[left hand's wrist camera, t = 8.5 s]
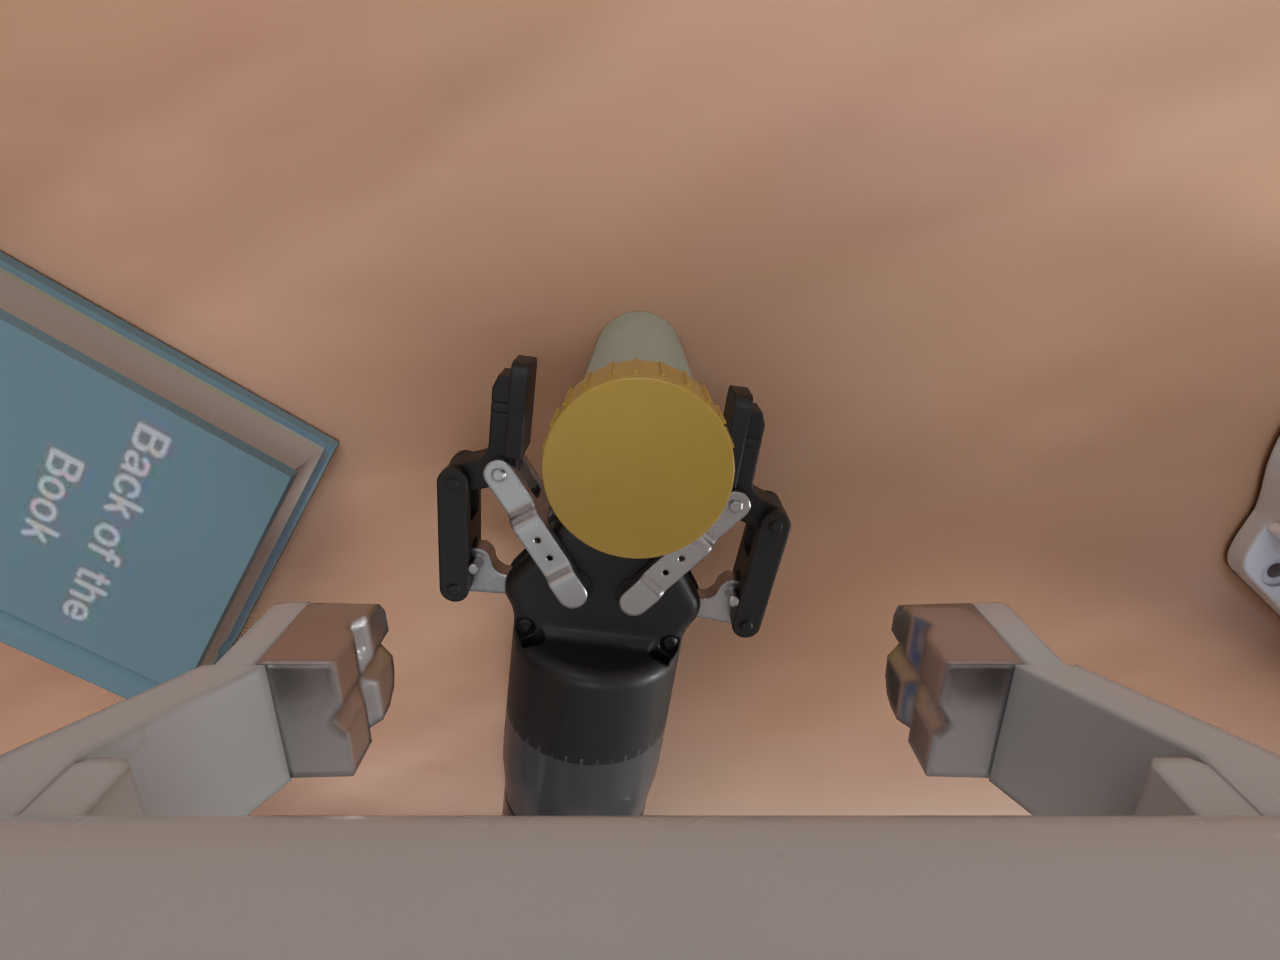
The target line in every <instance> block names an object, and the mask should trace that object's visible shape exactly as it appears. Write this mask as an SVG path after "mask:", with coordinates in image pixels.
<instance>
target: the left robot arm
mask: <svg viewBox="0 0 1280 960" xmlns="http://www.w3.org/2000/svg"><path fill="white" fill-rule="evenodd" d="M1227 561H1228V564H1229V566H1230V567H1231V568H1232V569H1233V570H1234V571H1235V572H1236V573H1237V574H1238V575H1239V576H1240V577H1241V578H1242V579H1243V580H1244V581H1245V582H1246V583H1247V584H1248V585H1249V586H1250V587H1251V588H1252V589H1253V590H1254V591H1255V592H1256V593H1257V594H1258V595H1259V596H1260V597H1261V598H1262V599H1263V600H1264V601H1265V602H1266V603H1267V604H1268V605H1269V606H1270V607H1271V608H1272V609H1273V610H1274V611H1275V612H1276V613H1277V614H1278V615H1279V616H1280V436H1279V438H1278V440H1277V442H1276V444H1275V446H1274V448H1273V450H1272V453H1271V455H1270V458H1269V461H1268V464H1267V467H1266V470H1265V474H1264V478H1263V482H1262V487H1261V491H1260V495H1259V498H1258V501H1257V503H1256V506H1255V508H1254V510H1253V511H1252V513H1251V514H1250V516H1249V517H1248V518H1247V520H1246V521H1245V523H1244V524H1243V526H1242V527H1241V529H1240V530H1239V532H1238V533H1237V535H1236V536H1235V538H1234V540H1233V541H1232V543H1231V545H1230V548H1229V550H1228V554H1227ZM387 632H388V625H387V619H386V614H385V610H384V609H383V608H382V607H381V606H380V604H342V603H313V604H312V603H310V602H304V603H279V604H273V605H272V606H271V607H270V608H269V609H268V610H267V611H266V612H265V613H264V614H263V615H262V616H261V617H260V618H259V620H258V621H257V622H256V623H255V624H254V625H253V626H252V627H251V628H250V629H249V630H248V631H247V632H246V633H245V634H244V635H243V636H242V637H241V638H240V639H239V640H238V641H237V642H236V643H235V644H234V645H233V646H232V647H231V648H230V649H229V650H228V651H227V652H226V653H225V655H224V656H223V657H222V658H221V659H220V660H219V661H218V662H217V663H216V664H215V665H202V666H200V667H197V668H195V669H193V670H191V671H188V672H186V673H184V674H182V675H179V676H177V677H175V678H173V679H170V680H168V681H166V682H164V683H161V684H159V685H157V686H155V687H152V688H150V689H148V690H146V691H143V692H141V693H139V694H137V695H134V696H132V697H130V698H128V699H125V700H123V701H121V702H119V703H117V704H114V705H112V706H110V707H108V708H105V709H103V710H101V711H99V712H96V713H94V714H92V715H90V716H87V717H85V718H83V719H81V720H78V721H76V722H74V723H72V724H69V725H67V726H65V727H63V728H60V729H58V730H56V731H54V732H51V733H49V734H47V735H45V736H43V737H40V738H38V739H36V740H34V741H31V742H29V743H27V744H25V745H22V746H20V747H18V748H16V749H13V750H11V751H9V752H7V753H4V754H2V755H1V756H0V960H1280V755H1277V754H1275V753H1273V752H1271V751H1268V750H1266V749H1264V748H1262V747H1259V746H1257V745H1255V744H1253V743H1250V742H1248V741H1246V740H1244V739H1241V738H1239V737H1237V736H1235V735H1233V734H1230V733H1228V732H1226V731H1224V730H1221V729H1219V728H1217V727H1215V726H1212V725H1210V724H1208V723H1206V722H1203V721H1201V720H1199V719H1197V718H1195V717H1192V716H1190V715H1188V714H1186V713H1183V712H1181V711H1179V710H1177V709H1174V708H1172V707H1170V706H1168V705H1165V704H1163V703H1161V702H1159V701H1157V700H1154V699H1152V698H1150V697H1148V696H1145V695H1143V694H1141V693H1139V692H1136V691H1134V690H1132V689H1130V688H1127V687H1125V686H1123V685H1121V684H1118V683H1116V682H1114V681H1112V680H1110V679H1107V678H1105V677H1103V676H1101V675H1098V674H1096V673H1094V672H1092V671H1089V670H1087V669H1085V668H1083V667H1080V666H1078V665H1065V664H1064V663H1063V662H1062V661H1061V660H1060V659H1059V658H1058V657H1057V655H1056V654H1055V653H1054V652H1053V651H1052V650H1051V649H1050V648H1049V647H1048V646H1047V645H1046V644H1045V643H1044V642H1043V641H1042V640H1041V639H1040V638H1039V637H1038V636H1037V635H1036V634H1035V633H1034V632H1033V631H1032V630H1031V629H1030V628H1029V627H1028V626H1027V625H1026V624H1025V622H1024V621H1023V620H1022V619H1021V618H1020V617H1019V616H1018V615H1017V614H1016V613H1015V612H1014V611H1013V610H1012V609H1011V608H1010V607H1009V606H1008V605H1006V604H1003V603H1000V602H991V603H960V604H920V605H899V606H898V607H897V609H896V612H895V614H894V618H893V624H892V632H893V634H894V635H895V637H896V639H897V640H898V642H899V644H898V645H897V646H896V647H895V649H894V650H893V651H892V652H891V653H890V654H889V655H888V657H887V665H886V674H885V676H886V688H887V695H888V699H889V702H890V706H891V708H892V710H893V712H894V714H895V716H896V718H897V720H899V721H900V722H902V723H903V724H905V725H906V726H908V727H909V728H910V733H909V740H908V742H909V744H910V746H911V747H912V749H913V751H914V753H915V755H916V757H917V759H918V761H919V763H920V765H921V766H922V768H923V770H924V772H925V774H926V776H942V777H979V778H989V781H990V782H991V783H993V784H994V785H995V786H997V787H998V788H999V789H1000V790H1002V791H1003V792H1004V793H1005V794H1007V795H1008V796H1009V797H1010V798H1012V799H1013V800H1014V801H1015V802H1017V803H1018V804H1019V805H1020V806H1022V807H1023V808H1024V809H1025V810H1027V811H1028V812H1029V813H1030V814H1032V815H1033V816H247V815H248V814H250V813H251V812H252V811H254V810H255V809H256V808H257V807H259V806H260V805H261V804H262V803H264V802H265V801H266V800H267V799H269V798H270V797H271V796H272V795H274V794H275V793H276V792H277V791H279V790H280V789H281V788H283V787H284V786H285V785H286V784H288V783H289V782H290V781H291V779H290V778H301V777H336V776H354V774H355V772H356V770H357V768H358V766H359V765H360V763H361V761H362V759H363V757H364V755H365V753H366V751H367V749H368V747H369V745H370V744H371V742H372V740H371V733H370V728H371V727H372V726H374V725H375V724H377V723H378V722H380V721H381V720H383V718H384V716H385V714H386V712H387V710H388V708H389V706H390V702H391V698H392V693H393V689H394V664H393V657H392V655H391V654H390V653H389V652H388V651H387V650H386V649H385V647H384V646H383V645H382V644H381V642H382V640H383V639H384V637H385V635H386V634H387Z"/></svg>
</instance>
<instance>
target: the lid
mask: <svg viewBox="0 0 1280 960" xmlns="http://www.w3.org/2000/svg"><path fill="white" fill-rule="evenodd" d="M724 424H726V421H725V418H724V416H723V414H722V411H721V409H720V407H719V405H716V406H715V404H714V402H713V400H712V399H711V397H710V396H709V393H708V391H707V388H706V387H705V386H704V385H703V386H702V387H701V386H700V385H699V384H698V383H697V382H696V381H695V380H694V379H692V378H691V377H690V376H688V373H687V371H685V370H683V372H682V371H680V370H678V369H676V368H674V367H671V366H669V365H666V364H664V361H661V360H660V363H658V362H654V361H645V360H639V358H635V360H630V361H623V362H618V363H614V362H613V361H612V362H610V363H609V365H608V366H605V367H603V368H601V369H598V370H596V371H595V372H593V373H591V372H590V371H589V372H588V373H587V374H586V377H585V378H584V379H583V380H581V381H580V382H579V383H578V384H577V385H576V386H575V387H574V388H571V387H570V388H569V389H568V392H567V394H566V396H565V399H564V401H563V403H562V405H561V407H560V408H558V407H557V408H556V410H555V412H554V414H553V417H552V419H551V421H550V423H549V427H551V429H550V430H549V432H548V435H547V437H546V439H545V441H544V444H543V446H542V451H543V455H542V480H543V485H544V490H545V493H546V496H547V499H548V501H549V503H550V505H551V507H552V509H553V511H554V513H555V514H556V516H557V517H558V519H559V520H560V522H561V523H562V524H563V525H564V526H565V527H566V528H567V529H568V531H570V532H571V533H572V534H573V535H574V536H575V537H577V538H578V539H579V540H581V541H582V542H584V543H585V544H587V545H588V546H590V547H592V548H594V549H596V550H598V551H601V552H604V553H607V554H610V555H614V556H618V557H624V558H633V559H636V558H652V557H659V556H663V555H667V554H670V553H673V552H675V551H678V550H680V549H682V548H684V547H686V546H688V545H690V544H691V543H693V542H694V541H696V540H697V539H699V538H700V537H701V536H702V535H703V534H704V533H706V532H707V531H708V530H709V529H710V528H711V527H712V525H713V524H714V523H715V522H716V521H717V519H718V518H719V516H720V515H721V513H722V512H723V510H724V508H725V506H726V504H727V502H728V500H729V497H730V494H731V491H732V487H733V481H734V473H735V463H734V453H733V449H732V448H734V444H733V441H732V439H731V436H730V434H729V432H728V429H727V427H725V426H724Z"/></svg>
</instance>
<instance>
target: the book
mask: <svg viewBox="0 0 1280 960" xmlns="http://www.w3.org/2000/svg"><path fill="white" fill-rule="evenodd" d="M338 443H339V442H338V441H336V440H334V439H332V438H331V437H329V436H327V435H325V434H324V433H322V432H320V431H318V430H317V429H315V428H313V427H311V426H309V425H308V424H306V423H304V422H302V421H301V420H299V419H297V418H295V417H293V416H292V415H290V414H288V413H286V412H285V411H283V410H281V409H279V408H277V407H276V406H274V405H272V404H270V403H269V402H267V401H265V400H263V399H261V398H260V397H258V396H256V395H254V394H253V393H251V392H249V391H247V390H246V389H244V388H242V387H240V386H238V385H237V384H235V383H233V382H231V381H230V380H228V379H226V378H224V377H222V376H221V375H219V374H217V373H215V372H214V371H212V370H210V369H208V368H206V367H205V366H203V365H201V364H199V363H198V362H196V361H194V360H192V359H190V358H189V357H187V356H185V355H183V354H182V353H180V352H178V351H176V350H175V349H173V348H171V347H169V346H167V345H166V344H164V343H162V342H160V341H159V340H157V339H155V338H153V337H151V336H150V335H148V334H146V333H144V332H143V331H141V330H139V329H137V328H135V327H134V326H132V325H130V324H128V323H127V322H125V321H123V320H121V319H120V318H118V317H116V316H114V315H112V314H111V313H109V312H107V311H105V310H104V309H102V308H100V307H98V306H96V305H95V304H93V303H91V302H89V301H88V300H86V299H84V298H82V297H80V296H79V295H77V294H75V293H73V292H72V291H70V290H68V289H66V288H64V287H63V286H61V285H59V284H57V283H56V282H54V281H52V280H50V279H49V278H47V277H45V276H43V275H41V274H40V273H38V272H36V271H34V270H33V269H31V268H29V267H27V266H25V265H24V264H22V263H20V262H18V261H17V260H15V259H13V258H11V257H9V256H8V255H6V254H4V253H2V252H1V251H0V641H1V642H3V643H5V644H7V645H10V646H12V647H14V648H16V649H18V650H21V651H23V652H25V653H27V654H29V655H32V656H34V657H36V658H38V659H40V660H42V661H45V662H47V663H49V664H51V665H53V666H56V667H58V668H60V669H62V670H64V671H67V672H69V673H71V674H73V675H75V676H78V677H80V678H82V679H84V680H86V681H89V682H91V683H93V684H95V685H97V686H99V687H102V688H104V689H106V690H108V691H110V692H113V693H115V694H117V695H119V696H121V697H124V698H126V699H128V698H130V697H132V696H134V695H137V694H139V693H141V692H143V691H146V690H148V689H150V688H152V687H155V686H157V685H159V684H161V683H164V682H166V681H168V680H170V679H173V678H175V677H177V676H179V675H182V674H184V673H186V672H188V671H191V670H193V669H195V668H197V667H200V666H202V665H215V664H216V663H217V662H218V661H219V660H220V659H221V658H222V657H223V656H224V655H225V653H226V652H227V651H228V650H229V649H230V648H231V647H232V644H233V643H234V641H235V640H236V639H237V637H238V636H239V634H240V632H241V630H242V628H243V626H244V624H245V622H246V620H247V618H248V617H249V615H250V613H251V611H252V609H253V607H254V605H255V603H256V601H257V599H258V597H259V595H260V593H261V591H262V590H263V588H264V586H265V584H266V582H267V580H268V578H269V576H270V574H271V572H272V570H273V568H274V566H275V564H276V563H277V561H278V559H279V557H280V555H281V553H282V551H283V549H284V547H285V545H286V543H287V541H288V539H289V537H290V536H291V534H292V532H293V530H294V528H295V526H296V524H297V522H298V520H299V518H300V516H301V514H302V512H303V510H304V509H305V507H306V505H307V503H308V501H309V499H310V497H311V495H312V493H313V491H314V489H315V487H316V485H317V483H318V482H319V480H320V478H321V476H322V474H323V472H324V470H325V468H326V466H327V464H328V462H329V460H330V458H331V456H332V454H333V453H334V451H335V449H336V447H337V445H338Z"/></svg>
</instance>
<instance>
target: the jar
mask: <svg viewBox="0 0 1280 960" xmlns="http://www.w3.org/2000/svg"><path fill="white" fill-rule="evenodd" d="M635 358H639V360H645V361H654V362H658V363H660V360H661V361H664V364H666V365H669V366H671V367H674V368H676V369H678V370H680V371H682V372H683V370H685V371H687V373H688V376H690V377H691V378H692V375H691V372H690V369H689V366H688V363H687V360H686V357H685V354H684V351H683V348H682V345H681V342H680V340H679V337H678V335H677V333H676V332H675V330H674V329H673V328H672V326H671V325H670V324H669V323H668V322H667V321H665V320H664V319H663V318H661V317H659V316H657V315H655V314H652V313H648V312H642V311H635V312H629V313H625V314H622V315H620V316H618V317H616V318H615V319H613V320H612V321H611V322H610V323H608V324H607V326H606V327H605V328H604V329H603V331H602V332H601V334H600V336H599V338H598V341H597V343H596V346H595V349H594V352H593V355H592V358H591V360H590V363H589V366H588V369H587V372H586V374H587V373H588V372H589V371H590V372H591V373H593V372H595V371H596V370H598V369H601V368H603V367H605V366H608V365H609V363H610V362H612V361H613V362H614V363H618V362H623V361H630V360H635ZM585 377H586V375H585ZM585 377H584V378H585ZM692 379H693V378H692Z"/></svg>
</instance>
